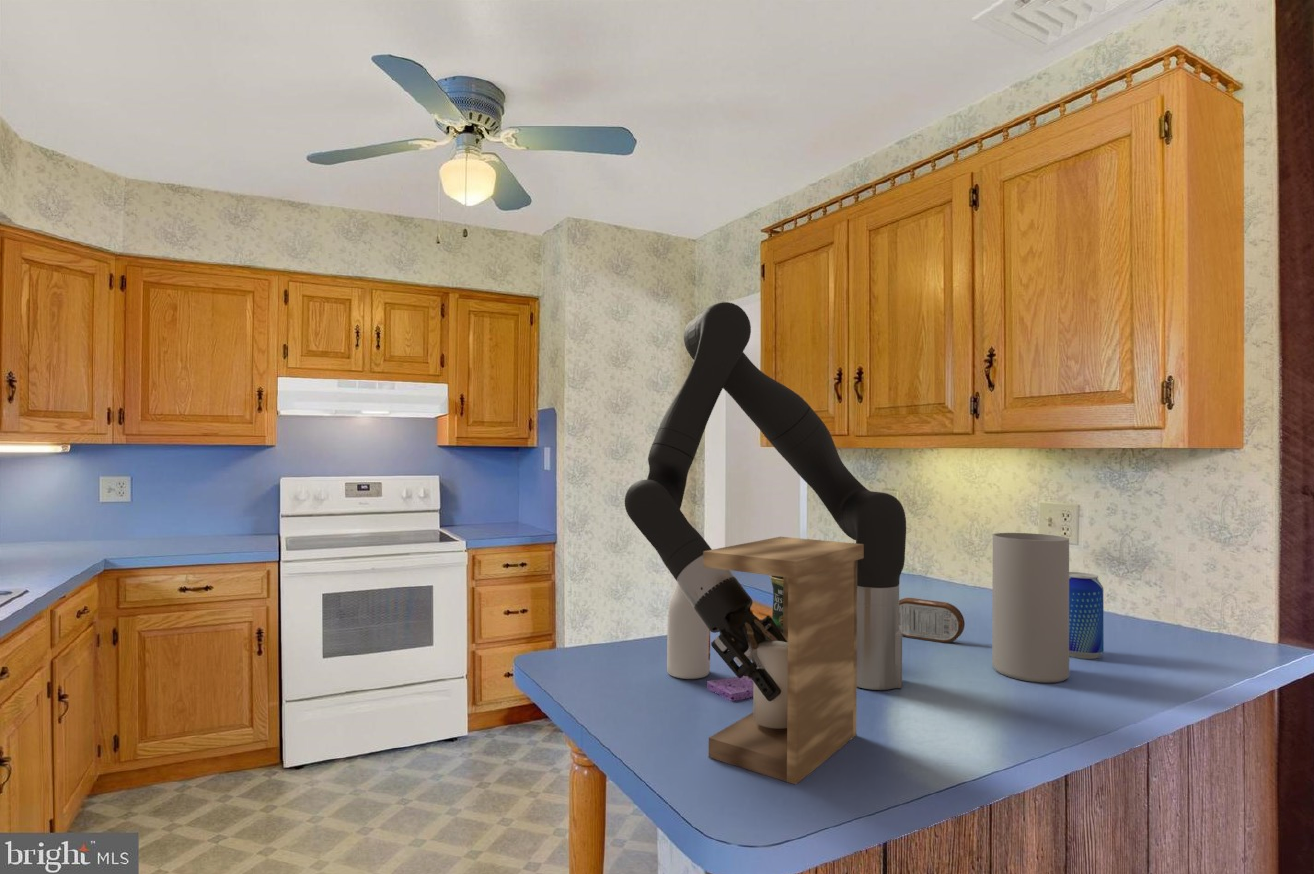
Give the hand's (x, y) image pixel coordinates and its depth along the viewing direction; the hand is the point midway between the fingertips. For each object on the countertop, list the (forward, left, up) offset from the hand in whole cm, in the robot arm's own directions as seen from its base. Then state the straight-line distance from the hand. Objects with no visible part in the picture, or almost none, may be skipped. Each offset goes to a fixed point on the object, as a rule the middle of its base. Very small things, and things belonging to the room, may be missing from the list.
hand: (786, 690), depth 97 cm
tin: (-33, -63, -8) cm, 71 cm away
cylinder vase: (-46, -41, -8) cm, 62 cm away
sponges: (+5, -24, -8) cm, 26 cm away
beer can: (-61, -56, -8) cm, 83 cm away
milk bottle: (+16, -31, -8) cm, 35 cm away
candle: (+1, -1, -4) cm, 5 cm away
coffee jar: (-4, -48, -8) cm, 48 cm away
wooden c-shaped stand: (0, 0, -8) cm, 8 cm away
